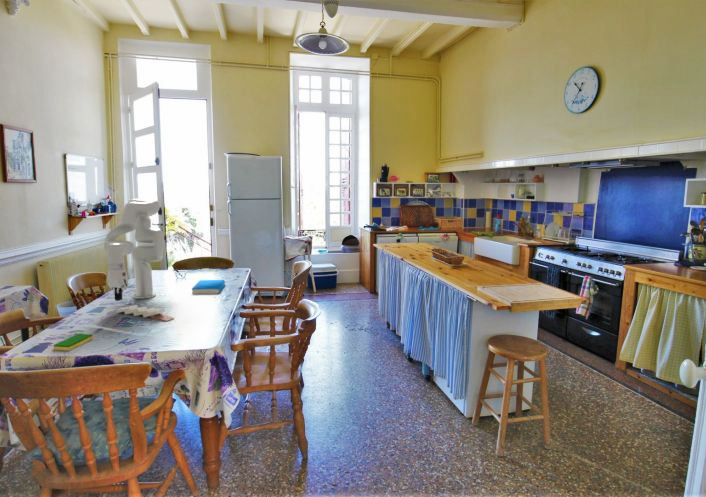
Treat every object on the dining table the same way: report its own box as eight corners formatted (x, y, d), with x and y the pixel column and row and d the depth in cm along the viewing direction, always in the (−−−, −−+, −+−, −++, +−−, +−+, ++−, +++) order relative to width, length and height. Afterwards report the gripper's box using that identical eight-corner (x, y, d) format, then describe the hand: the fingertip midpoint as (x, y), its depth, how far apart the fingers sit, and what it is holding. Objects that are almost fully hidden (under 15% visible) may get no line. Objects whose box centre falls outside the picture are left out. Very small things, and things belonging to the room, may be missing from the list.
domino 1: (116, 310, 218) (129, 307, 215) (124, 307, 223) (137, 304, 219) (116, 313, 218) (130, 310, 215) (124, 310, 223) (138, 307, 219)
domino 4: (142, 314, 212) (156, 310, 208) (150, 312, 217) (164, 308, 213) (143, 317, 212) (157, 313, 208) (151, 314, 217) (165, 311, 213)
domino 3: (133, 313, 214) (147, 310, 210) (141, 310, 219) (154, 307, 215) (134, 316, 214) (147, 313, 210) (142, 313, 219) (155, 310, 215)
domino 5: (151, 315, 210) (166, 320, 206) (158, 312, 214) (173, 317, 211) (151, 318, 210) (166, 323, 207) (158, 315, 215) (173, 320, 211)
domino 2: (124, 311, 216) (137, 308, 213) (132, 309, 221) (145, 306, 217) (125, 314, 216) (138, 311, 213) (133, 311, 221) (146, 309, 217)
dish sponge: (53, 350, 172) (52, 344, 172) (78, 338, 186) (78, 333, 185) (69, 351, 171) (68, 345, 171) (93, 339, 185) (92, 334, 184)
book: (191, 288, 263) (199, 279, 287) (191, 295, 264) (199, 285, 288) (219, 288, 266) (224, 279, 290) (219, 294, 266) (225, 285, 291)
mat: (106, 315, 217) (105, 313, 217) (124, 309, 227) (124, 308, 227) (149, 323, 207) (149, 321, 207) (166, 316, 217) (166, 315, 217)
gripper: (133, 266, 219) (135, 299, 221) (112, 263, 224) (114, 296, 226) (121, 268, 212) (123, 303, 214) (99, 266, 217) (102, 300, 219)
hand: (118, 299), depth 220 cm, fingers closed
